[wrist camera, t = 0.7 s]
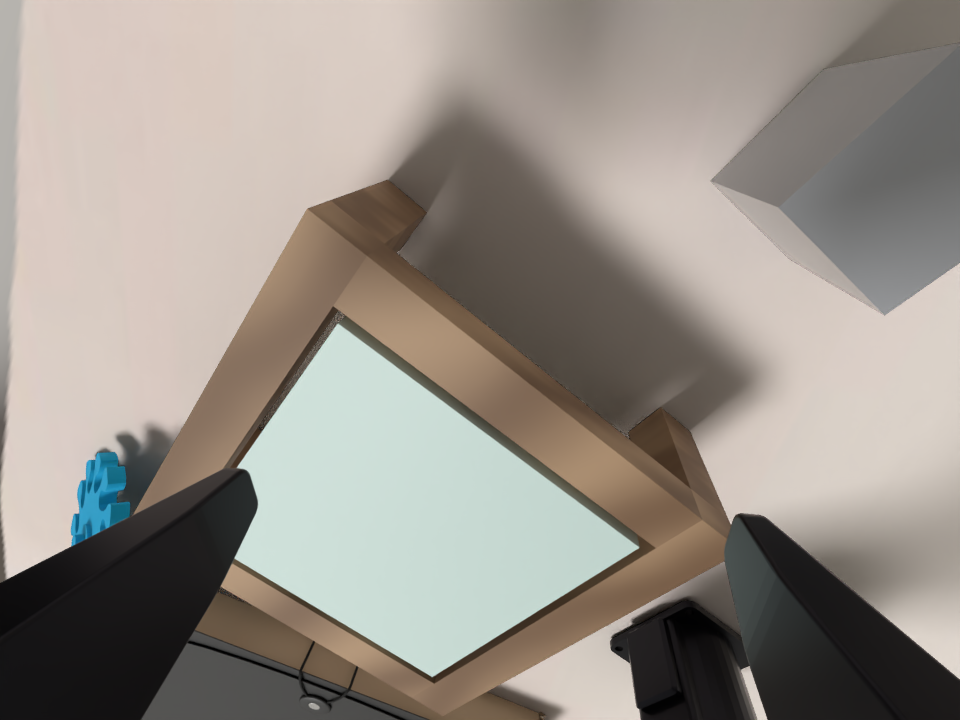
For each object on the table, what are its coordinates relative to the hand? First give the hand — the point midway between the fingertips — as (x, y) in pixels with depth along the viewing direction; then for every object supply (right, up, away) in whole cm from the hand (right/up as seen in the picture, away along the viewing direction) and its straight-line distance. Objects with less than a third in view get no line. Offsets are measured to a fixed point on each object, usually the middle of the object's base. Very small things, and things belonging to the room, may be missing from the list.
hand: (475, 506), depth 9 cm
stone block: (+12, +9, +8) cm, 17 cm away
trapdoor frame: (-2, -1, +16) cm, 16 cm away
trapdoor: (-3, -4, +11) cm, 12 cm away
